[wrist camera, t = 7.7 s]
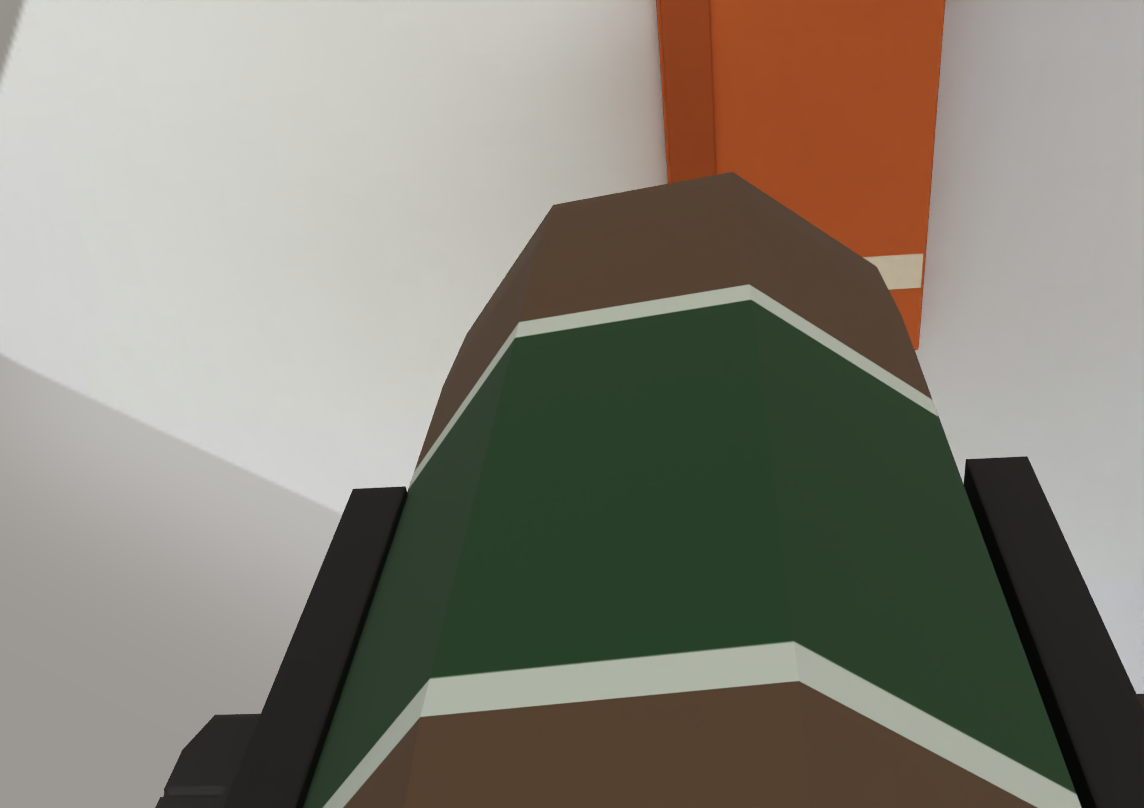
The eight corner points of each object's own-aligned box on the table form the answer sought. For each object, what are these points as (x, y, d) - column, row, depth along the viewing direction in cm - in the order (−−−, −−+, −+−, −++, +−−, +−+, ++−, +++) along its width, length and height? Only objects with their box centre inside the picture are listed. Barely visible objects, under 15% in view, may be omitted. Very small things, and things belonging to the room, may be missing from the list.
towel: (912, 332, 37) (919, 353, 36) (678, 345, 38) (679, 366, 37) (963, -380, 26) (977, -382, 25) (636, -336, 27) (634, -337, 26)
